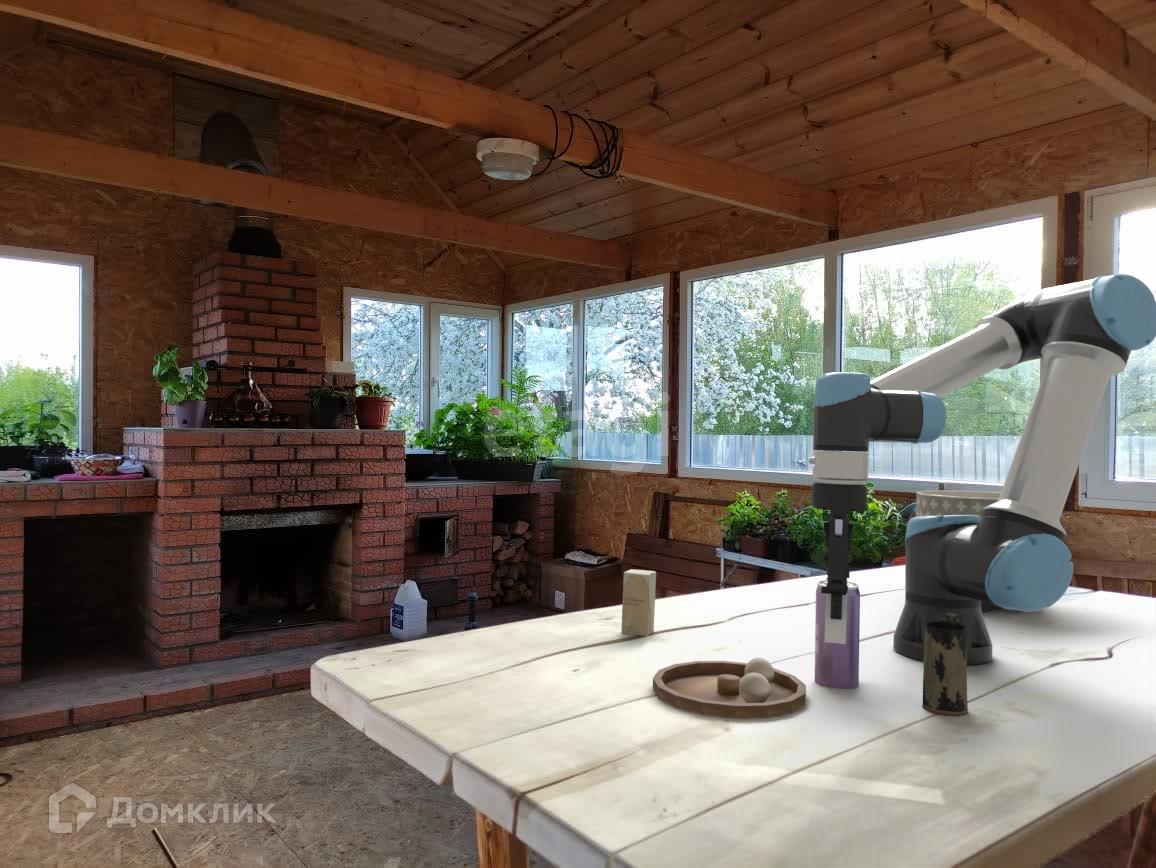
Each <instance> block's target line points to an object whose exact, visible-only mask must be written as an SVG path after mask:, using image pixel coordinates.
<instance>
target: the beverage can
mask: <svg viewBox="0 0 1156 868" xmlns="http://www.w3.org/2000/svg"><path fill="white" fill-rule="evenodd" d="M827 582H828V580H819V581H817V586H816V589H815V627H814V631H815V632H814V633H815V634H814V640H815V641H814V645H815V646H814V683H815V684H817V685H819V686H821V687H825V688H830V689H835V690H852V689H856V688H858V687H859V685H860V684H859V682H860V679H859V678H860V671H859V670H860V631H861V629H860V626H861V624H860V623H861V621H860V619H861V617H860V616H861V615H860V614H861V613H860V612H861V592H860V589H859V588H860V586H859V584H857V583H856V582H852V581H847V586H848V590H847V593H846V594H847V616H846V644H839V643H829V642H824V639H825V608H826V594H825V593H821V586H824V587H826V584H827Z"/></svg>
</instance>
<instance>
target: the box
mask: <svg viewBox="0 0 1156 868" xmlns="http://www.w3.org/2000/svg"><path fill="white" fill-rule="evenodd" d="M656 580H657V571H655V570H645V569H632V568H631V569H629V570H626V571H624V572H623V580H622V581H623V582H622V585H623V586H622V604H621V605H622V611H621V628H620V630H621V634H628V635H634V636H643V637H648V636H650V635H651V634H652V633H654V632H655V605H656V584H657V583H656V582H657V581H656Z"/></svg>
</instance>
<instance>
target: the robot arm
mask: <svg viewBox="0 0 1156 868" xmlns="http://www.w3.org/2000/svg"><path fill="white" fill-rule="evenodd" d="M1155 339H1156V299H1155V295H1154V294H1153V292H1152V291H1151V289H1150V287H1148V286H1147V285H1146V284H1145V283H1144V281H1142V280H1141V279H1139V278H1137V277H1135V276H1132V275H1129V274H1124V273H1123V274H1120V273H1119V274H1113V275H1099V276H1097V277H1094V278H1092V279H1088V280H1083V281H1078V282H1077V281H1076V282H1071V283H1066V284H1063V285H1056V286H1052V287H1046V288H1042V289H1039V290H1037V291H1034V292H1032V293H1029V294H1027V295H1025V296H1022V297H1021V298H1019V299H1017V300H1015V301H1013V302H1010V303H1009V304H1007V305H1006V306H1004V307H1002V308H1000V309H998V310H997V311H993V312H992V313H991V314H989V315H986V316H984V317H983V318H980V320H978V321H977V322H976V324H975V325H974V327H973V329H972V330H969V331H968V332H966V333H964V334H962V335H960V336H958V337H956V338H954V339H952V340H950V341H948V342H946V343H944V344H942V345H940V346H938V347H936V348H933V349H932V350H930V351H928V352H925V353H924V354H921V356H918V357H916V358H914V359H912V360H910V361H908V362H906V363H904V364H902V365H900V366H899V367H897V368H894V369H892V370H890V371H888V372H886V373H885V374H883V375H881V376H879V377H877V378H875V379H873V380H871V377H870V375H868V374H867V373H862V372H850V371H849V372H848V371H847V372H846V371H845V372H844V371H841V372H840V371H839V372H837V371H836V372H827V373H822V374H819V376H818V377H817V378H816V381H815V388H814V399H813V404H812V406H813V435H812V436H813V439H812V440H813V444H812V446H813V447H812V449H813V453H812V455H813V456H811V457H808V460H807V463H808V464H810V465H814V466H812V475H811V476H812V478H813V479H816V482H813V484H811V496H810V497H811V499H810V500H811V501H810V504H811V507H812V508H813V509H816V510H821V511H822V510H823V511H829V512H828V514H827V518H828V521H825V520H824V521H823V529H822V530H823V536H824V551H825V552H826V553H827V563H826V575H827V577H826V578H825V579H826V580H828V582H827V584H826V587H824V586H821V593H825V594H826V608H825V639H824V642H829V643H839V644H846V616H847V594H846V593H847V590H848V586H847V582H848V579H850V570H848V555H849V554H850V553H851V548H852V537H853V535H854V534H853V533H854V524H853V522H850V521H849V519H848V512H863V511H865V510H866V509H867V507H868V506H867V504H868V503H867V502H868V487H867V485H866V484H864V481H867V480H868V479H869V459H870V458H869V457H870V456H869V446H870V442H871V443H872V442H874V443H876V442H877V443H908V444H909V443H910V444H915V445H918V444H922V443H923V444H925V443H928V444H929V443H933V442H935V441H936V440H938V438H940V437H941V436H942V434H943V432H944V430H945V427H946V425H947V409H946V406H945V403H944V402H943V400H942V399H941V398H943V397H944V396H946V395H948V394H950V393H952V392H954V391H956V390H957V389H959V388H961V387H963V386H965V385H967V384H969V383H971V382H974V381H975V380H977V379H979V378H981V377H983V376H984V375H986V374H988V373H990V372H992V371H994V370H997V369H998V370H1008V369H1012V368H1013V367H1015V366H1017V365H1020V364H1022V363H1026V362H1030V361H1034V360H1040V359H1044V361H1046V363H1047V365H1046V368H1045V370H1044V373H1043V376H1042V379H1041V382H1040V384H1039V387H1038V390H1037V393H1036V394H1035V398H1034V401H1033V403H1032V406H1031V409H1030V412H1029V415H1028V417H1027V421H1026V423H1025V426H1024V428H1023V430H1022V434H1021V435H1020V439H1019V443H1018V444H1017V448H1016V450H1015V453H1014V455H1013V459H1012V461H1011V464H1010V467H1009V470H1008V473H1007V476H1006V478H1005V480H1004V484H1003V485H1002V488H1001V491H1000V492H1001V494H1000V497H999V500H998V501H997V502H996V503H993V504H991V505H989V506H986V507H984V509H983V512H982V514H981V517H980V516H979V515H948V516H920V517H916V516H914V517H911V518H910V519H909V520H908V522H907V524H906V530H905V531H906V532H905V533H906V534H905V538H904V542H905V546H904V547H905V549H904V550H905V552H904V553H905V555H904V557H905V560H904V561H905V563H904V564H905V566H904V567H905V568H904V569H905V573H904V574H905V577H904V578H905V580H904V581H905V583H904V584H905V586H904V587H905V592H904V593H905V595H904V596H905V599H904V606H903V609H902V611H901V615H900V617H899V620H898V622H897V624H896V628H895V630H894V633H893V645H892V646H893V650H894V651H896V652H897V653H899V654H901V655H904V656H906V657H908V658H909V657H910V658H912V659H917V660H921V661H924V645H925V628H926V623H928V622H940V620H941V619H943V618H944V617H945V616H946V614H947V613H950V614H958V616H959V623H960V625H963V626H965V627H967V666H968V665H970V666H971V665H980V664H986V663H989V662H991V661H992V660H993V642H992V640H991V637H990V634H989V630H988V627H987V625H986V622H985V621H986V620H985V619H984V615H983V612H982V607H981V601H983V602H987V603H991V604H994V605H998V606H999V607H998V608H1002V609H1003V610H1009V611H1020V612H1026V613H1032V612H1034V613H1035V612H1039V611H1043V610H1045V609H1046V608H1050V607H1051V606H1053V605H1054V604H1056V603H1057V602H1058V601H1060V599H1061V598H1062V597H1063V596H1064V595H1065V594H1066V592H1067V591H1068V588H1069V587H1070V584H1071V581H1072V579H1073V575H1074V563H1073V562H1072V561H1071V559H1072V557H1073V556H1072V553H1071V550H1070V549H1069V547H1068V546H1067V545H1066V544H1065V543H1064V542H1065V541H1066V537H1067V532H1066V530H1065V529H1064V527H1063V525H1062V523H1061V521H1060V518H1061V515H1062V514H1063V509H1064V507H1065V505H1066V501H1067V499H1068V496H1069V493H1070V491H1071V488H1072V485H1073V482H1074V479H1075V476H1076V473H1077V470H1078V467H1079V466H1080V465H1079V464H1080V462H1081V460H1082V456H1083V454H1084V452H1085V451H1084V450H1085V448H1086V446H1087V442H1088V439H1089V436H1090V434H1091V431H1092V428H1093V427H1094V426H1093V425H1094V422H1095V419H1096V416H1097V414H1098V411H1099V408H1100V405H1101V402H1102V400H1103V397H1104V394H1105V391H1106V389H1107V385H1108V383H1109V380H1110V378H1112V377H1115V376H1117V375H1119V374H1122V373H1123V372H1124V371H1125V369H1126V366H1127V364H1128V362H1129V361H1128V360H1129V359H1130V355H1131V352H1132V351H1138V350H1142V349H1143V348H1145V347H1147V346H1148V345H1150V344H1152V342H1153V341H1154V340H1155Z"/></svg>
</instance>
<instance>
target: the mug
mask: <svg viewBox="0 0 1156 868" xmlns="http://www.w3.org/2000/svg"><path fill="white" fill-rule="evenodd" d="M967 669H968V665H967V627H965V626H963V625H960V623H959V616H958V614H950V613H947V614H946V616H945V617H944V618H943V619H941V620H940V622H928V623H926V628H925V645H924V660H923V673H922V674H923V675H922V706H921V707H922V708H923V709H924V710H925V711H927V712H930V713H933V714H935V715H941V716H946V717H963V716H966V715H968V714H969V709H968V708H969V706H968V704H969V703H968V672H967V671H968V670H967Z"/></svg>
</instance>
